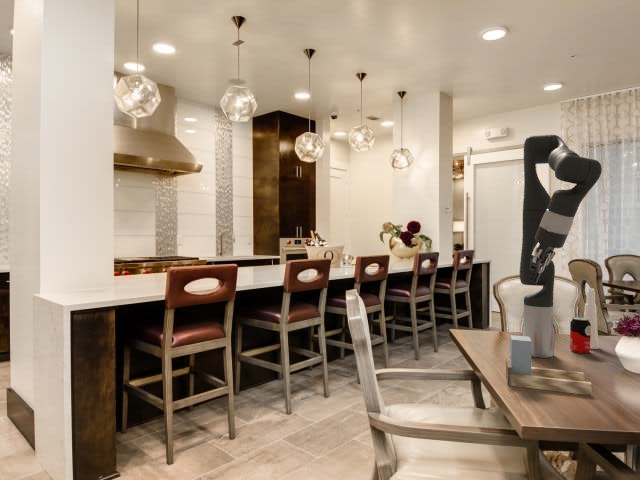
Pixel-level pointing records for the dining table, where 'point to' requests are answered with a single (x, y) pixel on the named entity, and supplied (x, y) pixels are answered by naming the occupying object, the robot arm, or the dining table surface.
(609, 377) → the dining table surface
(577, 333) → the beverage can
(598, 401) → the dining table surface
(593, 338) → the cosmetic bottle
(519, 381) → the wooden tray frame
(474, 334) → the dining table surface
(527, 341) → the block
